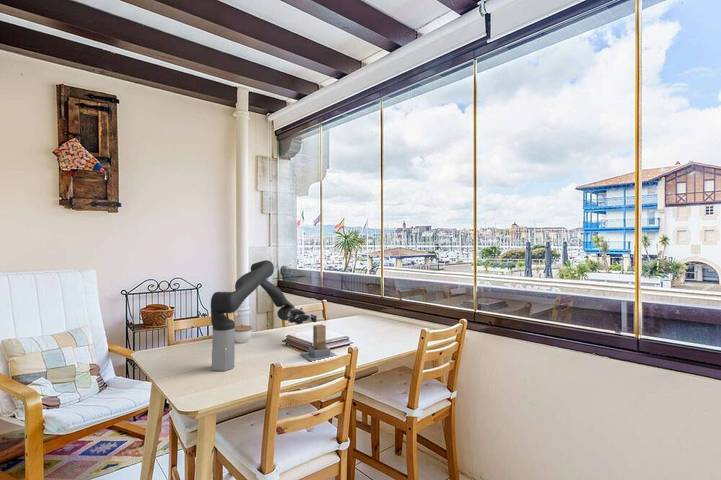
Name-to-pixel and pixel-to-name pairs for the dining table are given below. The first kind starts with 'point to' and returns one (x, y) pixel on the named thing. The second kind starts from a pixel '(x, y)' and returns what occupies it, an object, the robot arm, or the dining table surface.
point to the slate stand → (317, 354)
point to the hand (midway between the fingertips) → (307, 321)
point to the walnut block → (319, 337)
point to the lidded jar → (242, 333)
